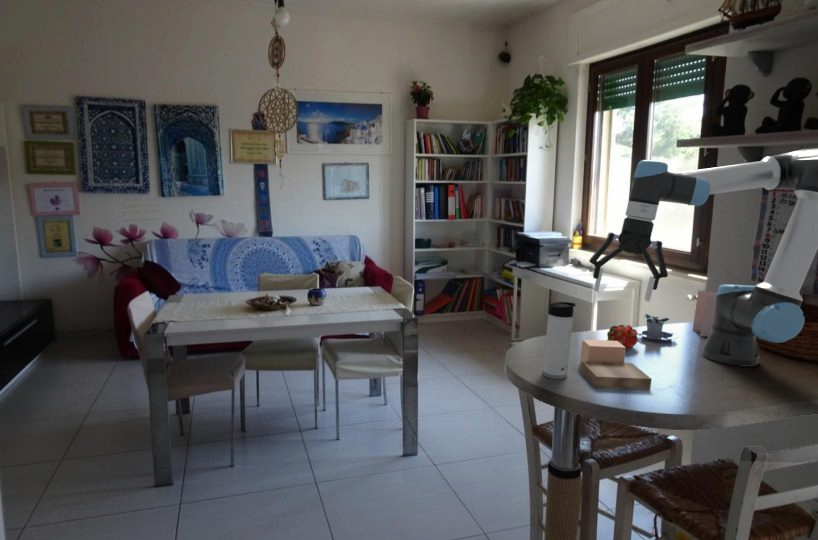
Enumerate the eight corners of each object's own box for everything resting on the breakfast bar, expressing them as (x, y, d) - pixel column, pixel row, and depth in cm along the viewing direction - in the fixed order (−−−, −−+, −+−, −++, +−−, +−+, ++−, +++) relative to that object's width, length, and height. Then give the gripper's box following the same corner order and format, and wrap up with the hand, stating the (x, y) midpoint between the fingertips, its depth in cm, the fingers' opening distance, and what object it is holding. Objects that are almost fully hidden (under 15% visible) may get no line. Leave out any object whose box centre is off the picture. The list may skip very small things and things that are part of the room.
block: (614, 364, 159) (617, 340, 158) (622, 371, 153) (625, 347, 152) (579, 363, 159) (582, 339, 158) (587, 370, 153) (589, 346, 152)
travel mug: (569, 381, 145) (576, 306, 141) (543, 378, 146) (550, 303, 143) (567, 372, 151) (574, 300, 147) (542, 370, 152) (549, 298, 149)
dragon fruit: (603, 354, 174) (630, 356, 179) (624, 345, 167) (651, 347, 173) (596, 329, 177) (623, 331, 183) (616, 319, 171) (643, 322, 176)
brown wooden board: (630, 373, 153) (631, 362, 152) (650, 390, 141) (651, 378, 141) (580, 371, 153) (581, 360, 152) (595, 387, 141) (596, 376, 140)
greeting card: (728, 335, 198) (734, 294, 195) (730, 340, 191) (737, 298, 189) (692, 330, 202) (698, 290, 200) (693, 335, 196) (699, 293, 193)
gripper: (594, 211, 147) (576, 288, 151) (692, 228, 144) (672, 307, 147) (590, 210, 155) (573, 284, 158) (683, 226, 151) (664, 302, 154)
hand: (621, 295), depth 153 cm, fingers open, 13 cm apart
